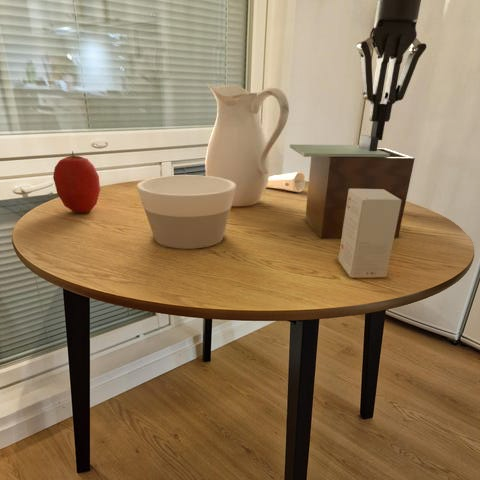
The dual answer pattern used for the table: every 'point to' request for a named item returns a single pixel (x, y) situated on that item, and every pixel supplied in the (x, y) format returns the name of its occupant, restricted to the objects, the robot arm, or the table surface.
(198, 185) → the bowl
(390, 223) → the small box
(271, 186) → the long cone
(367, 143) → the sliding box lid
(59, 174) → the apple
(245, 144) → the pitcher
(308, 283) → the table surface
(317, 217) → the case
